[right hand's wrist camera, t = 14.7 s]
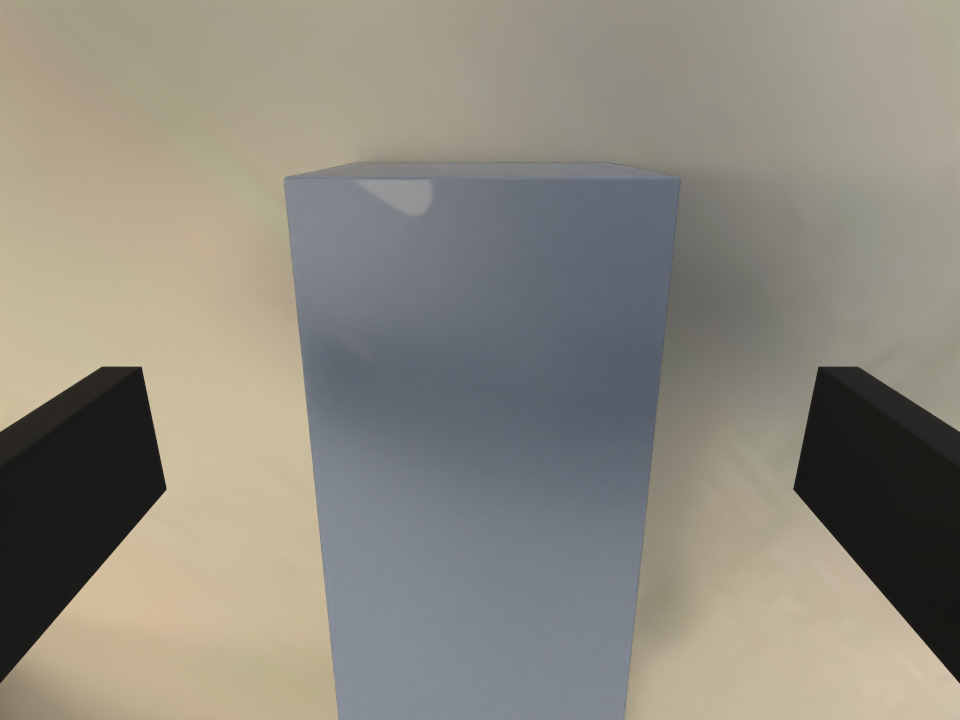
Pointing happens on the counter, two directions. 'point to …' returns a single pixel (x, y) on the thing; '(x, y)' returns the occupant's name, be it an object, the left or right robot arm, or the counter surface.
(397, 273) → the cabinet
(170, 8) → the counter surface
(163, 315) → the counter surface
